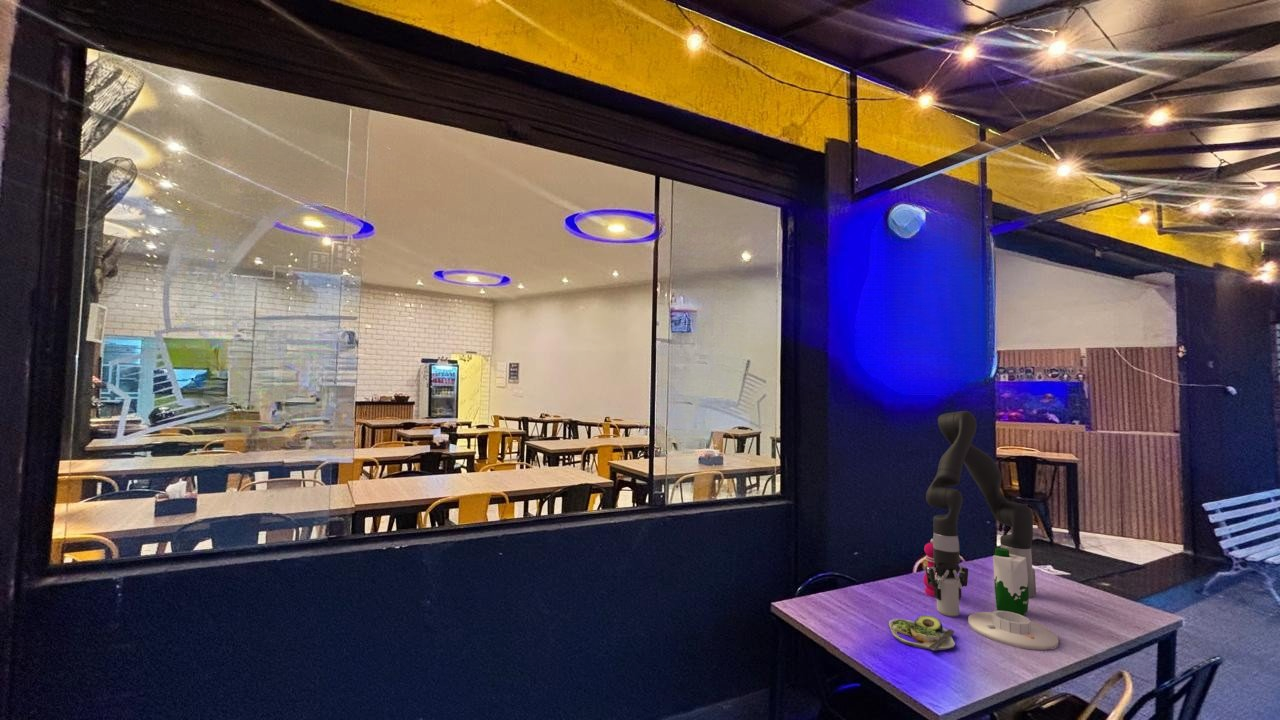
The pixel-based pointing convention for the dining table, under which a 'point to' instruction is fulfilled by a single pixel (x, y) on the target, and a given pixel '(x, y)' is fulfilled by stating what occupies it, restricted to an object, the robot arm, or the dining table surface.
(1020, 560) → the milk carton
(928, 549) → the pepper mill
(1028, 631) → the twist-lock holder
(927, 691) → the dining table surface
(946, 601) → the beverage can
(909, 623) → the salad plate
